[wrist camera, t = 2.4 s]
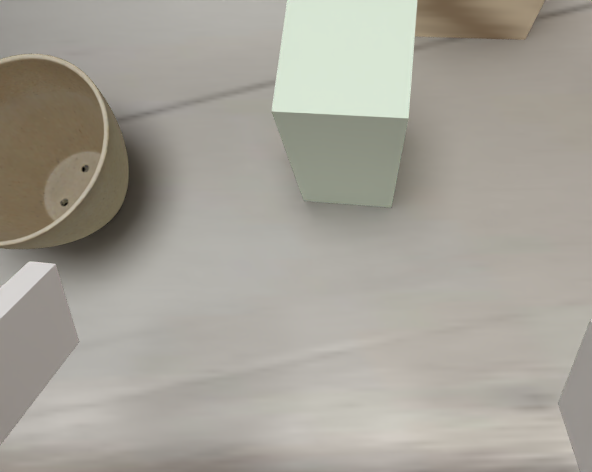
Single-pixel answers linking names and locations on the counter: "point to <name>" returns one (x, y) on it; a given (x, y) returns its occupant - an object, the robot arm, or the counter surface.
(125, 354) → the counter surface
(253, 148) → the counter surface
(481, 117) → the counter surface
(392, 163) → the sage block
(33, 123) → the flower pot
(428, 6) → the tower base
